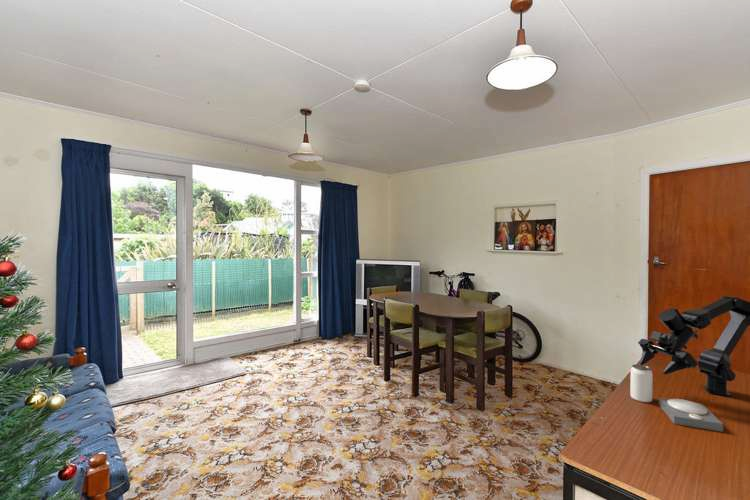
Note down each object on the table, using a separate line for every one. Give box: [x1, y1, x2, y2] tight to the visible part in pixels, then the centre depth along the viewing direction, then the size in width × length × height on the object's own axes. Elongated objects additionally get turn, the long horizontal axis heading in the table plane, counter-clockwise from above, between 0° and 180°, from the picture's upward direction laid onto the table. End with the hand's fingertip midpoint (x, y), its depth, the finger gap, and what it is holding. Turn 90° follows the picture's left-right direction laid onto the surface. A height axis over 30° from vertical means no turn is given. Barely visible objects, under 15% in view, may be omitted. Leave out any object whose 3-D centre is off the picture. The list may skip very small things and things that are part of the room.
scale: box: [658, 397, 724, 433], centre depth 115 cm, size 14×12×3 cm
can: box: [629, 364, 653, 403], centre depth 128 cm, size 6×6×12 cm
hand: (651, 368), depth 129 cm, fingers open, 9 cm apart
